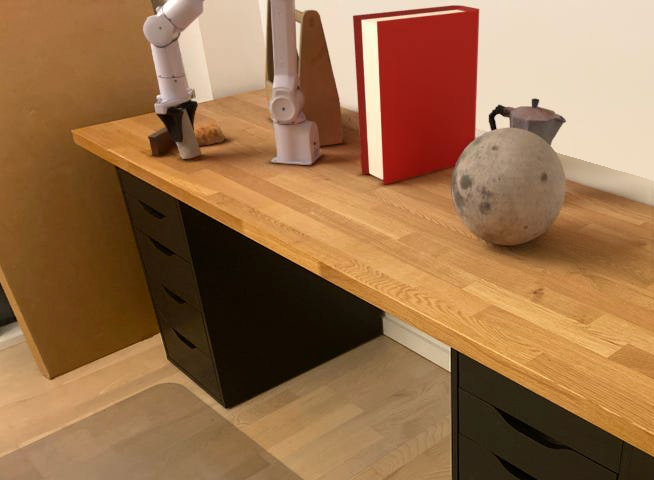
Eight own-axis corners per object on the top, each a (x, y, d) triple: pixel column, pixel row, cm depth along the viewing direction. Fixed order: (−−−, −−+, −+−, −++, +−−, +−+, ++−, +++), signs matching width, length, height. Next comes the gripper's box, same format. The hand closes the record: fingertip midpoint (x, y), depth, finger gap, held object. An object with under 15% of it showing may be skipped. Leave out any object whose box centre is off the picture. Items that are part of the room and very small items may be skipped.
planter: (181, 156, 167) (164, 111, 161) (201, 151, 168) (184, 106, 162) (182, 160, 163) (165, 114, 158) (202, 155, 164) (185, 109, 159)
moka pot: (556, 209, 144) (566, 107, 133) (480, 202, 147) (484, 101, 136) (560, 192, 152) (570, 94, 141) (488, 186, 155) (492, 89, 143)
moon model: (572, 229, 136) (584, 122, 125) (541, 273, 121) (552, 155, 110) (474, 212, 142) (477, 108, 131) (432, 252, 127) (432, 138, 116)
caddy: (268, 118, 194) (252, -6, 177) (307, 114, 198) (295, -8, 181) (302, 149, 172) (287, 11, 156) (344, 143, 177) (334, 9, 160)
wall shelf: (195, 133, 181) (192, 115, 178) (159, 156, 166) (155, 137, 163) (188, 133, 181) (185, 115, 179) (152, 156, 166) (147, 136, 164)
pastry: (193, 149, 170) (190, 133, 168) (177, 143, 174) (174, 127, 172) (227, 141, 176) (224, 125, 174) (211, 135, 180) (209, 120, 178)
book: (383, 184, 154) (376, 21, 136) (361, 174, 159) (352, 15, 141) (477, 159, 169) (483, 9, 151) (455, 151, 174) (458, 4, 156)
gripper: (169, 67, 162) (181, 128, 170) (135, 81, 150) (150, 146, 158) (199, 68, 161) (210, 129, 169) (167, 83, 149) (180, 148, 157)
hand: (183, 138), depth 163 cm, fingers closed on planter, 4 cm apart
